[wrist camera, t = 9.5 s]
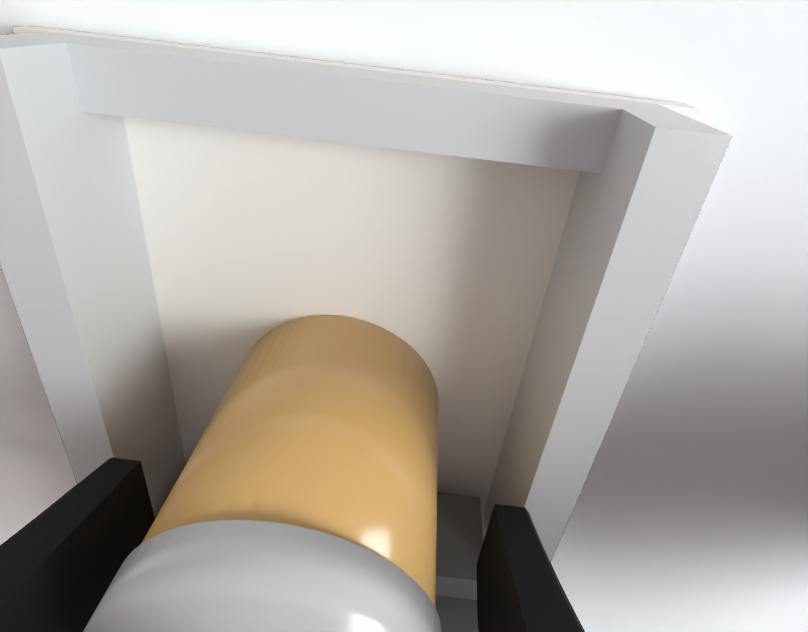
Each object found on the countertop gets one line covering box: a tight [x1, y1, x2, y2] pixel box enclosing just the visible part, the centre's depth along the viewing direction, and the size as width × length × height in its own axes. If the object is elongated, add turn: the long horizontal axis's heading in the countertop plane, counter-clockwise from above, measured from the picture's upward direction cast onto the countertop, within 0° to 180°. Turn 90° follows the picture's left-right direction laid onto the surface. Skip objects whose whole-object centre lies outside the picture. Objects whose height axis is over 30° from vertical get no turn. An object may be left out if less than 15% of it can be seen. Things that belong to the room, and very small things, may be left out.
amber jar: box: [83, 315, 442, 632], centre depth 10 cm, size 5×5×6 cm
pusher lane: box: [0, 26, 732, 563], centre depth 13 cm, size 22×12×6 cm, turn 174°
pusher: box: [436, 492, 483, 632], centre depth 12 cm, size 2×8×5 cm, turn 84°
